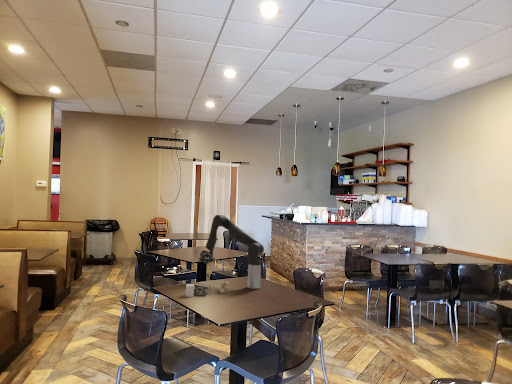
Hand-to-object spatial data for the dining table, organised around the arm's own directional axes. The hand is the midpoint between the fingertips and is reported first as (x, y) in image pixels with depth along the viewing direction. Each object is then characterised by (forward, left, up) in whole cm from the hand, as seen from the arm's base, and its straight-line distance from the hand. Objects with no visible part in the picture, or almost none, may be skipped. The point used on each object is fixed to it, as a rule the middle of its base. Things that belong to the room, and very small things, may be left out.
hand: (206, 261), depth 264 cm
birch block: (-13, +15, -19) cm, 27 cm away
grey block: (+10, +27, -19) cm, 35 cm away
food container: (+1, +16, -17) cm, 23 cm away
